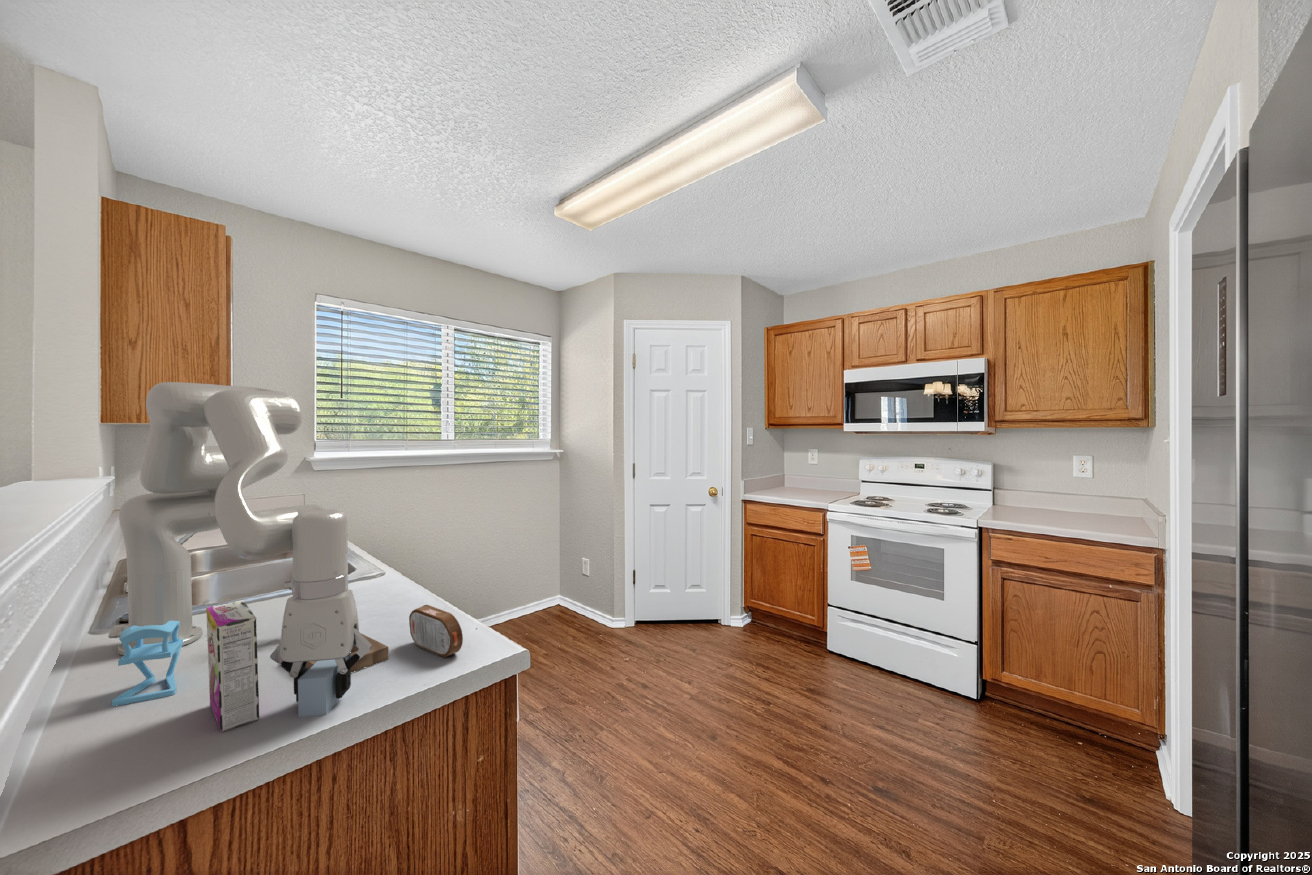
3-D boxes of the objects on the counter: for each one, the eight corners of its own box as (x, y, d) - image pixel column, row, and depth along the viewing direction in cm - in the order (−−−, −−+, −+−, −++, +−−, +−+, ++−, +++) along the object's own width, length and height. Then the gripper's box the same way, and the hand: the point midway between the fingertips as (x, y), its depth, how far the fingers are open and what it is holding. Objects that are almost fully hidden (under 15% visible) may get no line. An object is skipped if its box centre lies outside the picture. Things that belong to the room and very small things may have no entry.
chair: (190, 674, 93) (189, 609, 92) (174, 695, 85) (173, 624, 85) (132, 684, 89) (131, 617, 89) (110, 707, 82) (109, 633, 81)
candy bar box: (206, 706, 82) (204, 606, 81) (246, 694, 86) (244, 598, 85) (218, 734, 74) (215, 625, 74) (260, 720, 78) (258, 615, 78)
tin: (464, 657, 99) (464, 615, 99) (450, 663, 97) (449, 620, 97) (420, 639, 108) (420, 600, 108) (406, 644, 105) (405, 604, 105)
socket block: (322, 684, 89) (322, 663, 89) (289, 661, 97) (289, 642, 97) (388, 659, 98) (388, 640, 98) (353, 640, 107) (352, 623, 107)
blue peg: (298, 717, 79) (297, 679, 79) (319, 694, 86) (319, 659, 86) (326, 714, 80) (326, 677, 80) (345, 691, 87) (345, 657, 86)
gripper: (248, 597, 77) (250, 714, 78) (369, 590, 80) (370, 703, 81) (275, 582, 84) (277, 688, 85) (385, 576, 87) (386, 679, 88)
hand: (322, 694), depth 83 cm, fingers open, 5 cm apart
